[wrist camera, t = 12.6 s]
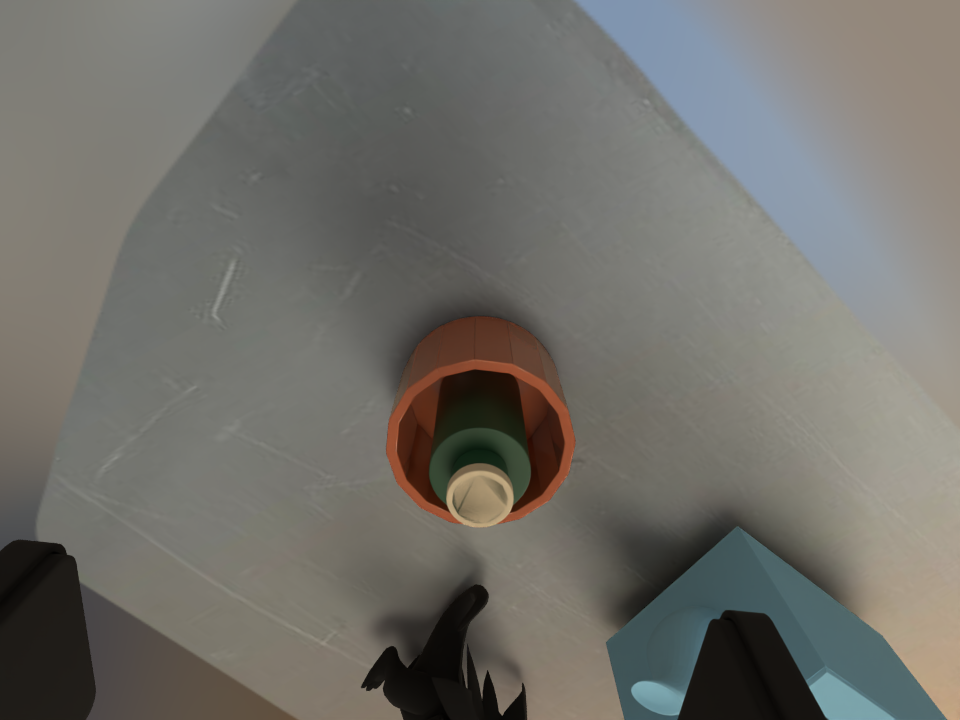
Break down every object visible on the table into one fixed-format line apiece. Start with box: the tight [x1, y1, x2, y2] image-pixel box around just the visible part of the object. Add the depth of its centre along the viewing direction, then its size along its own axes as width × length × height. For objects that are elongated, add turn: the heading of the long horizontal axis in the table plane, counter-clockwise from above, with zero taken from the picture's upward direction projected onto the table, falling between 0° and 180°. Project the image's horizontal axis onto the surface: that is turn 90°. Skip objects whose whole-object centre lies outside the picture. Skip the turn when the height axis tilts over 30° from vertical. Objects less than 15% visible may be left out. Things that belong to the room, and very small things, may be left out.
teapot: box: [606, 526, 947, 720], centre depth 34 cm, size 22×11×14 cm, turn 51°
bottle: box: [429, 369, 531, 527], centre depth 30 cm, size 4×4×10 cm
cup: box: [386, 316, 576, 524], centre depth 32 cm, size 9×9×6 cm
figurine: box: [361, 584, 527, 720], centre depth 37 cm, size 16×13×11 cm
